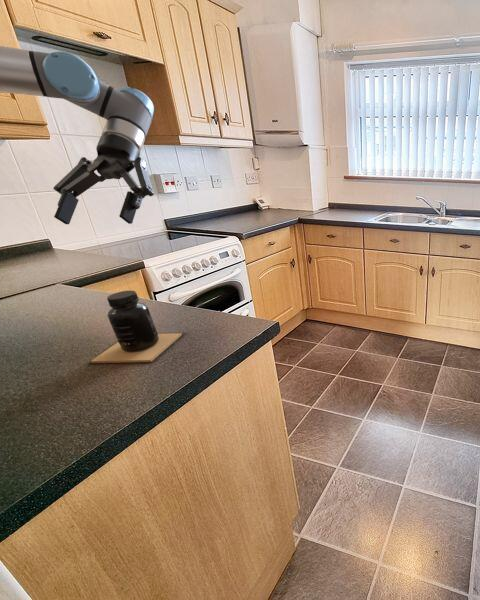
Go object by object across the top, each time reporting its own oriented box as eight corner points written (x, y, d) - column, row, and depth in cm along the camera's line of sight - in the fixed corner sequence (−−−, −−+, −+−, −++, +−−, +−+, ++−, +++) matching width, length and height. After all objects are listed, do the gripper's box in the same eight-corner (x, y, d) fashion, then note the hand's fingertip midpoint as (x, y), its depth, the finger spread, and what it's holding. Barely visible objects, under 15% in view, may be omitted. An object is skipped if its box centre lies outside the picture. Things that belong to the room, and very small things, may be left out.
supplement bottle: (137, 336, 77) (119, 288, 72) (166, 337, 76) (150, 288, 72) (113, 353, 70) (91, 301, 66) (144, 353, 70) (125, 301, 65)
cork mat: (91, 363, 68) (90, 361, 68) (130, 335, 78) (129, 334, 78) (151, 362, 68) (150, 360, 68) (182, 335, 78) (181, 333, 78)
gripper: (183, 156, 84) (163, 229, 76) (81, 157, 83) (51, 230, 76) (164, 131, 77) (140, 209, 69) (53, 132, 76) (16, 210, 69)
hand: (93, 220), depth 72 cm, fingers open, 13 cm apart
